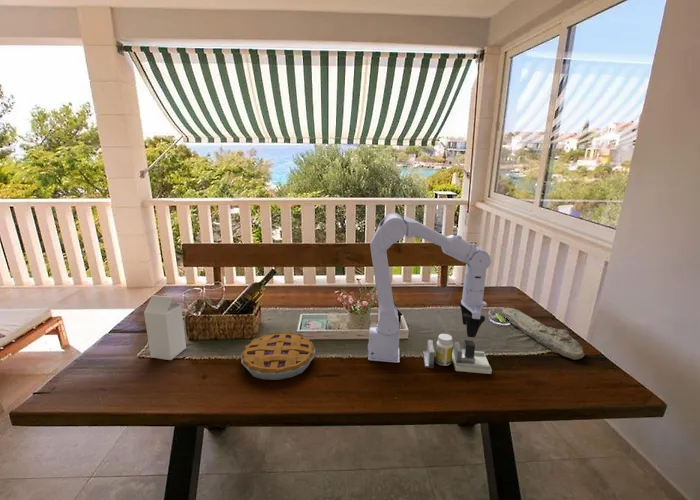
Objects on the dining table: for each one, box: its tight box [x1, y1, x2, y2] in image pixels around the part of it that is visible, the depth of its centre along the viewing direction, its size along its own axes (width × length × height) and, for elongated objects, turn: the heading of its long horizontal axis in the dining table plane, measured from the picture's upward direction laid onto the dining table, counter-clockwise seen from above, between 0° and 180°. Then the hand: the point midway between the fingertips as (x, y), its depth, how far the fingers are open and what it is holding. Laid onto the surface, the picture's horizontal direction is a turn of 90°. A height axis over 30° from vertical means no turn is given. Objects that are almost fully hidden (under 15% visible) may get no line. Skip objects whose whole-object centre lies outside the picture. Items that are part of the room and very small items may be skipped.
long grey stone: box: [500, 307, 585, 361], centre depth 124 cm, size 35×5×10 cm
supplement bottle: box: [434, 333, 454, 367], centre depth 106 cm, size 5×5×8 cm
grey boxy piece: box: [453, 339, 476, 364], centre depth 105 cm, size 5×6×6 cm
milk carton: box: [143, 294, 187, 361], centre depth 107 cm, size 7×7×19 cm
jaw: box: [422, 339, 436, 369], centre depth 107 cm, size 2×8×5 cm, turn 173°
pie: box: [240, 331, 316, 381], centre depth 105 cm, size 22×22×5 cm
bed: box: [452, 348, 493, 375], centre depth 106 cm, size 10×9×2 cm
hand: (468, 330), depth 105 cm, fingers open, 7 cm apart
